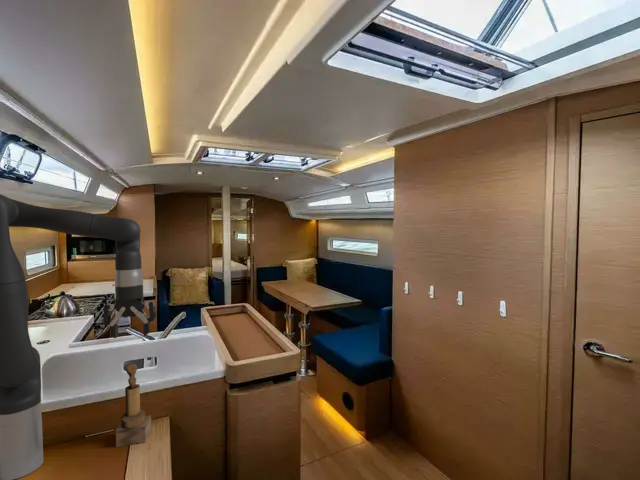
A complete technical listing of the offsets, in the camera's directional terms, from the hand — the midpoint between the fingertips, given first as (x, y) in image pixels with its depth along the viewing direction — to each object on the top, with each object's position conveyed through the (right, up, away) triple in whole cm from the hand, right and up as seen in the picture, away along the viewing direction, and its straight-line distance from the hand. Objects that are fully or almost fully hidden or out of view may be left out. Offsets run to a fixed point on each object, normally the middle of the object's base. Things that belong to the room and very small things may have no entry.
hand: (131, 336), depth 103 cm
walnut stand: (+1, -32, 0) cm, 32 cm away
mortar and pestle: (+1, -27, 0) cm, 27 cm away
